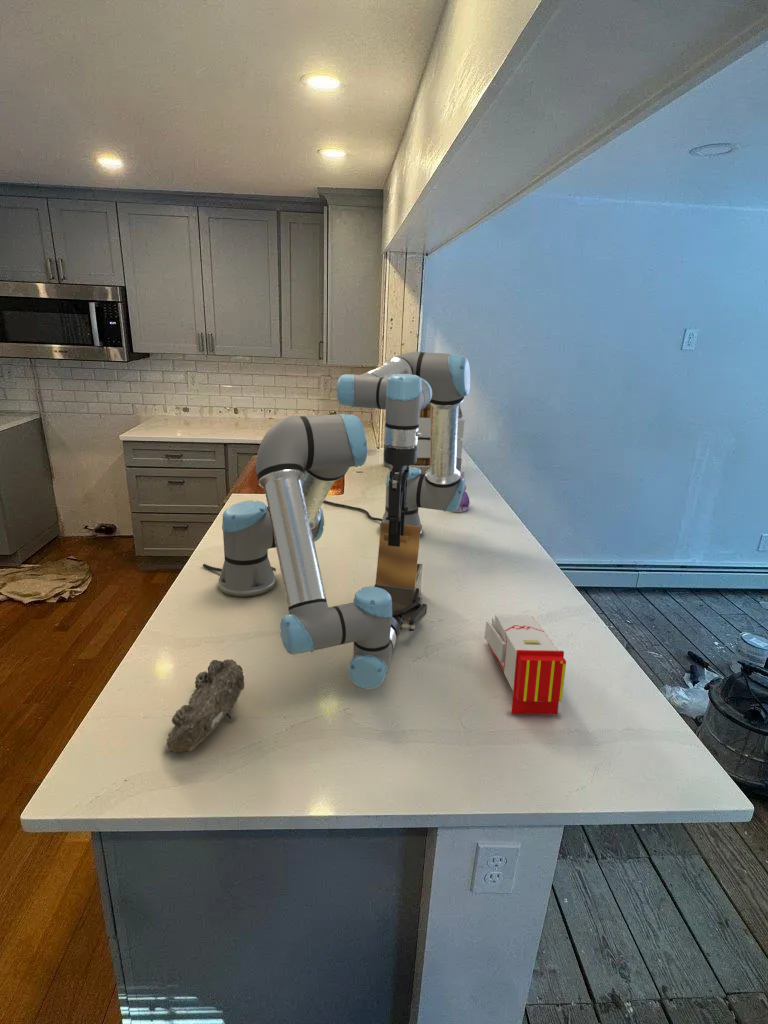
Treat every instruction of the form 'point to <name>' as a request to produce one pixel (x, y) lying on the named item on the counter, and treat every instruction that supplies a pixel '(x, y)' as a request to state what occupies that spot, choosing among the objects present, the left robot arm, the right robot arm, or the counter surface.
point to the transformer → (424, 439)
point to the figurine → (463, 499)
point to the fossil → (206, 705)
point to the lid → (398, 558)
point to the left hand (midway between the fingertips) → (397, 590)
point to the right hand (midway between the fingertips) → (395, 541)
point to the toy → (527, 663)
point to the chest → (403, 592)
